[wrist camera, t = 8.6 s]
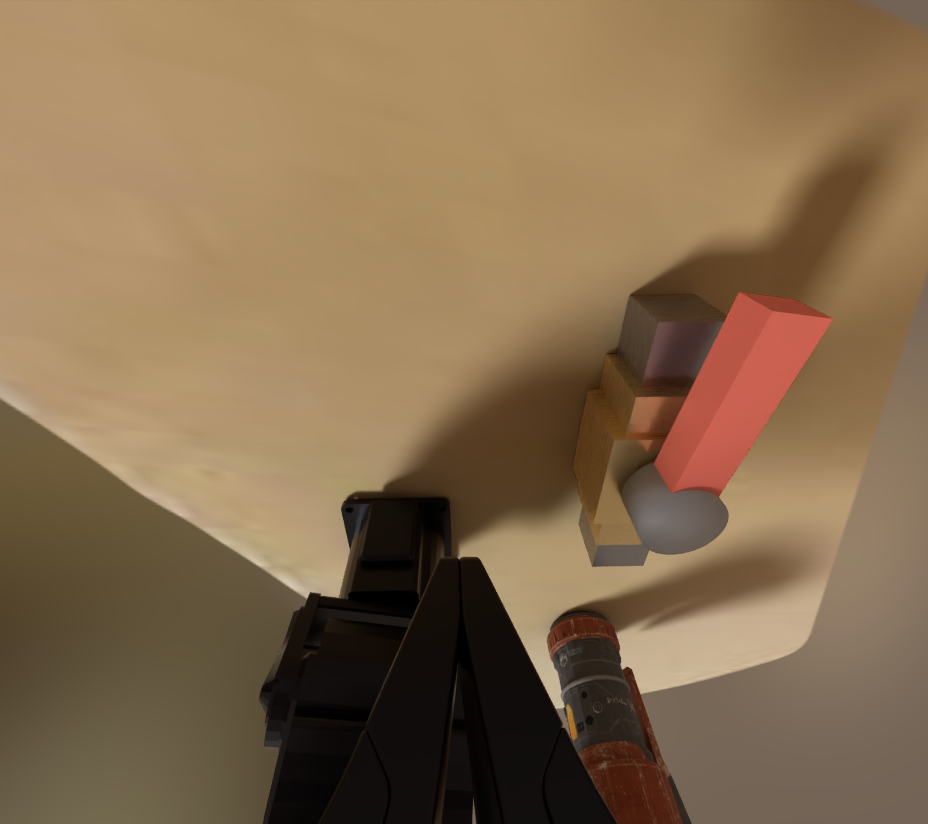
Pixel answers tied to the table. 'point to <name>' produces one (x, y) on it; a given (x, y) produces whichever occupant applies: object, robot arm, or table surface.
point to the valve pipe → (637, 413)
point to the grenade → (611, 723)
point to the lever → (721, 421)
